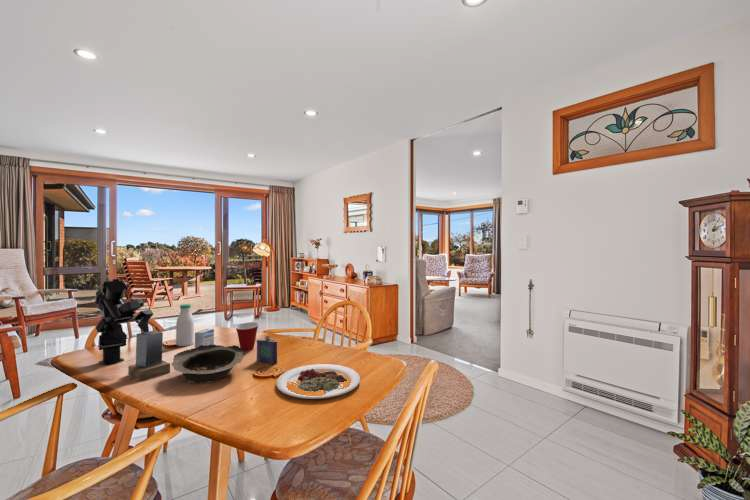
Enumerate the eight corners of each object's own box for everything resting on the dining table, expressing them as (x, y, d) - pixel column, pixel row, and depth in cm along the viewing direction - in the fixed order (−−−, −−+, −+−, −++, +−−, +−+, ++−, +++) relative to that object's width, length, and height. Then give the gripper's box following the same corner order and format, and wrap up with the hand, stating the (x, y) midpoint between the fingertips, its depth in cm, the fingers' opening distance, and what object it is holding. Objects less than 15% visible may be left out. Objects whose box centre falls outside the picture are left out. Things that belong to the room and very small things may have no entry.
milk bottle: (197, 343, 164) (197, 304, 164) (181, 347, 157) (181, 306, 157) (188, 341, 168) (189, 302, 168) (172, 344, 161) (173, 304, 161)
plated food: (337, 410, 100) (337, 399, 100) (257, 393, 110) (257, 383, 110) (371, 375, 128) (371, 366, 128) (306, 364, 138) (306, 356, 138)
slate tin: (135, 365, 123) (136, 333, 123) (151, 361, 129) (152, 330, 129) (145, 367, 121) (146, 335, 121) (161, 363, 126) (162, 332, 127)
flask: (255, 361, 140) (255, 335, 140) (259, 359, 143) (260, 333, 143) (274, 365, 136) (275, 337, 136) (279, 362, 139) (279, 335, 139)
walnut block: (128, 376, 123) (128, 365, 123) (157, 368, 132) (157, 358, 132) (140, 382, 118) (140, 371, 118) (169, 373, 126) (170, 363, 126)
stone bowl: (214, 360, 141) (216, 339, 140) (256, 375, 130) (258, 352, 130) (155, 379, 119) (157, 354, 118) (199, 399, 108) (202, 371, 107)
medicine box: (202, 351, 152) (202, 332, 152) (194, 350, 153) (194, 332, 153) (214, 346, 160) (214, 328, 160) (206, 345, 161) (206, 328, 161)
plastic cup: (231, 348, 157) (231, 324, 157) (253, 344, 164) (253, 320, 164) (239, 354, 149) (239, 328, 149) (262, 349, 156) (262, 324, 156)
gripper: (101, 296, 120) (121, 329, 117) (150, 290, 138) (169, 318, 134) (87, 316, 123) (106, 348, 119) (137, 307, 140) (155, 335, 137)
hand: (136, 336), depth 127 cm, fingers open, 9 cm apart
